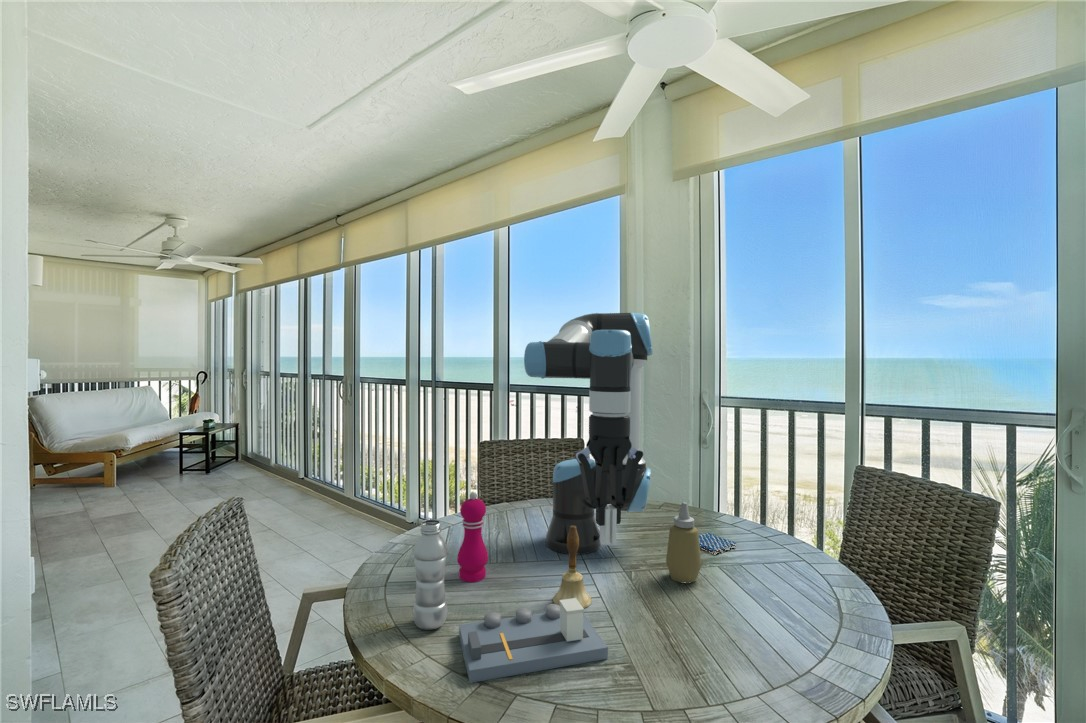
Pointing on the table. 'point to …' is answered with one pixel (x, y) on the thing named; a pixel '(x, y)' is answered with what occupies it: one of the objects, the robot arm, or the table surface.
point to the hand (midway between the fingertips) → (607, 541)
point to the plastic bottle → (430, 577)
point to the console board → (525, 644)
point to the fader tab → (571, 619)
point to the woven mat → (714, 543)
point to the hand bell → (572, 575)
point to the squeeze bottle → (683, 548)
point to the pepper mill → (472, 541)
